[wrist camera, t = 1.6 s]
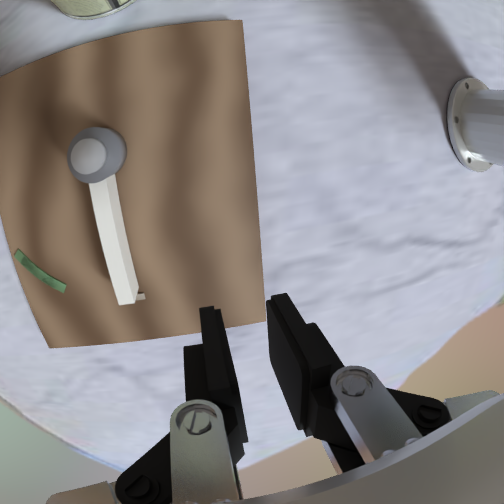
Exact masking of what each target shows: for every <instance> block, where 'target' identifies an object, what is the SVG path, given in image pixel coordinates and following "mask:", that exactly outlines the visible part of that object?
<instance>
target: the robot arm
mask: <svg viewBox="0 0 504 504" xmlns="http://www.w3.org/2000/svg"><path fill="white" fill-rule="evenodd" d="M447 122H448V131H449V135H450V140H451V143H452V146H453V149H454V151H455V153H456V155H457V157H458V159H459V160H460V162H461V163H462V164H463V165H464V166H465V167H466V168H468V169H470V170H472V171H476V172H484V171H486V170H488V169H489V168H490V167H491V166H492V165H493V164H496V165H500V166H504V90H489V88H488V87H487V86H486V85H485V84H484V83H483V82H482V81H480V80H478V79H475V78H464V79H461V80H460V81H458V82H457V83H456V84H455V86H454V87H453V89H452V91H451V94H450V97H449V101H448V109H447ZM266 309H267V325H268V340H269V356H270V361H271V364H272V367H273V370H274V372H275V375H276V377H277V380H278V382H279V385H280V387H281V390H282V392H283V395H284V397H285V400H286V402H287V405H288V407H289V410H290V412H291V415H292V417H293V420H294V422H295V425H296V427H297V429H298V430H302V429H303V430H304V433H305V435H306V437H308V436H312V435H313V437H314V438H317V439H320V440H322V444H323V446H324V449H325V451H326V452H327V455H328V457H329V459H330V461H331V463H332V465H333V467H334V468H335V471H336V473H337V475H336V476H333V477H330V478H328V479H324V480H322V481H318V482H315V483H312V484H308V485H305V486H302V487H298V488H294V489H290V490H287V491H282V492H278V493H274V494H269V495H265V496H260V497H255V498H250V499H243V494H242V489H241V484H240V480H239V475H238V470H237V465H236V464H237V463H238V461H239V460H240V459H241V458H242V457H243V456H244V454H245V453H244V448H243V444H242V443H246V442H248V436H247V431H246V425H245V420H244V414H243V409H242V403H241V397H240V391H239V386H238V382H237V377H236V373H235V369H234V365H233V361H232V357H231V352H230V348H229V344H228V339H227V335H226V331H225V326H224V322H223V317H222V313H221V309H214V306H207V307H201V308H199V313H200V323H201V332H202V341H203V344H198V345H191V346H184V374H185V393H186V402H185V403H183V404H181V405H179V406H178V407H177V408H176V409H175V410H174V412H173V413H172V415H171V419H170V432H169V433H168V434H167V435H166V436H165V437H164V438H163V439H161V440H160V441H159V442H158V443H157V444H156V445H155V446H154V447H152V448H151V449H150V450H149V451H148V452H147V453H146V454H144V455H143V456H142V457H141V458H140V459H139V460H137V461H136V462H135V463H134V464H133V465H131V466H130V467H129V468H128V469H127V470H125V471H124V472H123V473H122V474H121V475H120V476H119V477H118V479H117V481H115V482H112V483H108V482H107V481H105V482H101V483H98V484H94V485H90V486H86V487H82V488H78V489H74V490H69V491H65V492H60V493H56V494H54V495H52V496H51V497H50V498H49V499H48V500H47V502H46V504H504V393H503V394H501V395H500V394H499V393H497V392H495V391H491V390H489V391H482V392H478V393H473V394H468V395H463V396H458V397H453V398H447V399H445V400H444V402H441V401H439V400H437V399H434V398H430V397H425V396H420V395H416V394H411V393H407V392H402V391H398V390H394V389H389V388H385V386H384V385H383V384H382V382H381V381H380V380H379V379H378V377H377V376H376V375H375V374H374V373H373V372H372V371H371V370H369V369H367V368H365V367H361V366H347V367H345V366H344V365H343V363H342V362H341V360H340V359H339V357H338V356H337V354H336V353H335V351H334V350H333V348H332V347H331V345H330V344H329V342H328V341H327V339H326V338H325V336H324V335H323V333H322V332H321V330H320V329H319V327H318V326H317V325H316V324H315V323H309V324H306V323H305V321H304V320H303V318H302V317H301V315H300V313H299V312H298V310H297V309H296V307H295V305H294V304H293V302H292V301H291V299H290V297H289V296H288V294H287V293H283V294H277V295H272V296H271V300H267V301H266Z"/></svg>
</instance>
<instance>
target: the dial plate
mask: <svg viewBox="0 0 504 504" xmlns="http://www.w3.org/2000/svg"><path fill="white" fill-rule="evenodd" d="M90 127H100V128H110V129H113V130H116V131H117V132H119V133H120V134H121V135H122V136H123V138H124V140H125V142H126V145H127V157H126V161H125V163H124V165H123V166H122V168H121V169H120V170H119V171H118V172H117V173H115V177H116V183H117V189H118V195H119V201H120V206H121V212H122V217H123V222H124V227H125V231H126V236H127V241H128V245H129V249H130V254H131V258H132V262H133V266H134V270H135V274H136V278H137V282H138V286H139V289H138V292H137V296H136V300H135V303H133V304H125V305H119V304H118V301H117V297H116V294H115V291H114V288H113V284H112V281H111V277H110V274H109V270H108V267H107V263H106V259H105V256H104V252H103V248H102V244H101V240H100V235H99V231H98V227H97V222H96V218H95V213H94V208H93V203H92V198H91V193H90V187H89V183H84V182H82V181H80V180H78V179H77V178H76V177H74V175H73V174H72V173H71V171H70V169H69V167H68V163H67V152H68V148H69V145H70V143H71V141H72V139H73V138H74V137H75V136H76V135H77V134H78V133H79V132H80V131H82V130H84V129H86V128H90ZM0 215H1V219H2V223H3V227H4V231H5V234H6V238H7V242H8V245H9V249H10V252H11V255H12V258H13V261H14V264H15V267H16V270H17V273H18V276H19V279H20V282H21V284H22V287H23V290H24V292H25V295H26V297H27V300H28V302H29V305H30V307H31V310H32V312H33V314H34V317H35V319H36V321H37V323H38V326H39V328H40V330H41V332H42V334H43V336H44V338H45V340H46V342H47V344H48V346H49V348H64V347H78V346H91V345H102V344H113V343H123V342H132V341H141V340H149V339H157V338H165V337H172V336H179V335H186V334H193V333H200V332H201V323H200V313H199V308H201V307H207V306H214V309H221V313H222V317H223V322H224V326H225V328H231V327H236V326H242V325H248V324H253V323H258V322H264V321H266V310H265V296H264V281H263V267H262V253H261V240H260V226H259V213H258V200H257V187H256V174H255V162H254V149H253V137H252V125H251V113H250V101H249V89H248V78H247V66H246V55H245V44H244V33H243V22H242V20H221V21H205V22H193V23H184V24H175V25H168V26H161V27H155V28H149V29H143V30H138V31H133V32H128V33H124V34H119V35H115V36H111V37H107V38H103V39H99V40H95V41H92V42H88V43H85V44H82V45H79V46H75V47H72V48H69V49H66V50H63V51H60V52H58V53H55V54H52V55H50V56H47V57H44V58H42V59H39V60H37V61H34V62H32V63H30V64H27V65H25V66H23V67H20V68H18V69H16V70H14V71H12V72H10V73H8V74H6V75H3V76H1V77H0Z"/></svg>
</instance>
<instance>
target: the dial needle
mask: <svg viewBox="0 0 504 504" xmlns="http://www.w3.org/2000/svg"><path fill="white" fill-rule="evenodd" d="M126 157H127V145H126V142H125V140H124V138H123V136H122V135H121V134H120V133H119V132H117V131H116V130H113V129H110V128H100V127H90V128H86V129H84V130H82V131H80V132H79V133H78V134H77V135H76V136H75V137H74V138H73V139H72V141H71V143H70V145H69V148H68V152H67V163H68V167H69V169H70V171H71V173H72V174H73V175H74V177H76V178H77V179H78V180H80V181H82V182H84V183H89V187H90V193H91V198H92V203H93V208H94V213H95V218H96V222H97V227H98V231H99V235H100V240H101V244H102V248H103V252H104V256H105V259H106V263H107V267H108V270H109V274H110V277H111V281H112V284H113V288H114V291H115V294H116V297H117V301H118V304H119V305H125V304H133V303H135V300H136V296H137V292H138V289H139V286H138V282H137V278H136V274H135V270H134V266H133V262H132V258H131V254H130V249H129V245H128V241H127V236H126V231H125V227H124V222H123V217H122V212H121V206H120V201H119V195H118V189H117V183H116V177H115V173H117V172H118V171H119V170H120V169H121V168H122V166H123V165H124V163H125V161H126Z"/></svg>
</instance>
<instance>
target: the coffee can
mask: <svg viewBox="0 0 504 504" xmlns="http://www.w3.org/2000/svg"><path fill="white" fill-rule="evenodd" d="M51 1H52V2H53V3H54V4H55V5H56V6H57V7H58V8H59V9H60V11H61V12H62V13H64V14H65V15H67V16H69V17H71V18H74V19H82V20H86V19H96V18H100V17H104V16H108V15H111V14H113V13H115V12H118V11H120V10H122V9H124V8H125V7H127V6H129V5H130V4H132V3H133V2H134V1H136V0H51Z"/></svg>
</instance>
